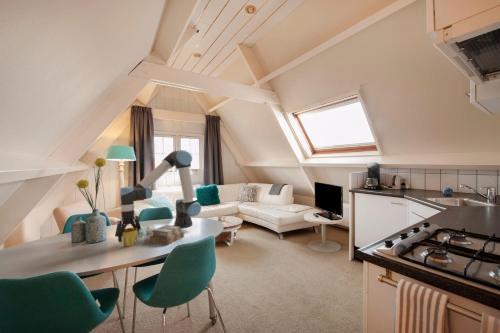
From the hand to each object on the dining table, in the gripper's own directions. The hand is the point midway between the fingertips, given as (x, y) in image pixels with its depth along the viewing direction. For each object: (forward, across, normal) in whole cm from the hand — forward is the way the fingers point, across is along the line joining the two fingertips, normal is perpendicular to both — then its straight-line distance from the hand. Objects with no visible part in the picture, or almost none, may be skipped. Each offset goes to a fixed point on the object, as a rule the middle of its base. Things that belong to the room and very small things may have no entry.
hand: (129, 243), depth 148 cm
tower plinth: (+2, -17, +17) cm, 24 cm away
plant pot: (+1, 0, 0) cm, 1 cm away
